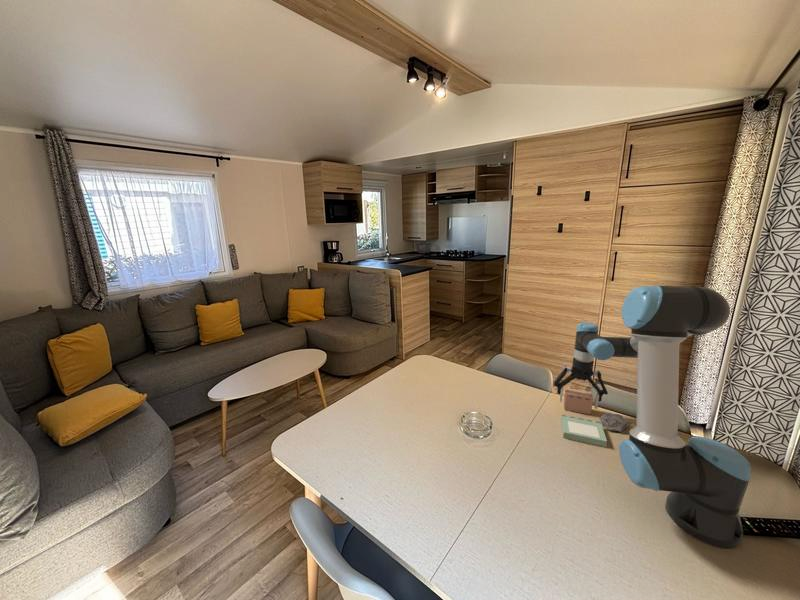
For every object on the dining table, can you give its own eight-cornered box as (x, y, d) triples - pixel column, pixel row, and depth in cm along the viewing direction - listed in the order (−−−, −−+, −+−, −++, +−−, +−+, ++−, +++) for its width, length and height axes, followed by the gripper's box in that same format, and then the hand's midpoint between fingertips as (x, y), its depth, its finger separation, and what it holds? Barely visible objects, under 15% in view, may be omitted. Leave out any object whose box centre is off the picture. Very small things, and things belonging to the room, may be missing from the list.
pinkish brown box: (590, 414, 133) (593, 397, 131) (564, 409, 136) (566, 393, 134) (588, 408, 137) (591, 391, 135) (563, 403, 141) (565, 387, 139)
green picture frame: (606, 447, 114) (607, 441, 113) (563, 437, 119) (563, 431, 118) (599, 427, 124) (600, 422, 124) (560, 419, 130) (561, 414, 129)
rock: (630, 426, 125) (632, 417, 124) (618, 436, 119) (620, 427, 118) (606, 415, 132) (607, 407, 131) (594, 424, 127) (595, 416, 126)
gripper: (616, 359, 130) (609, 405, 135) (550, 351, 139) (545, 394, 144) (620, 367, 123) (613, 414, 128) (551, 358, 132) (546, 402, 137)
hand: (577, 404), depth 136 cm, fingers open, 13 cm apart
